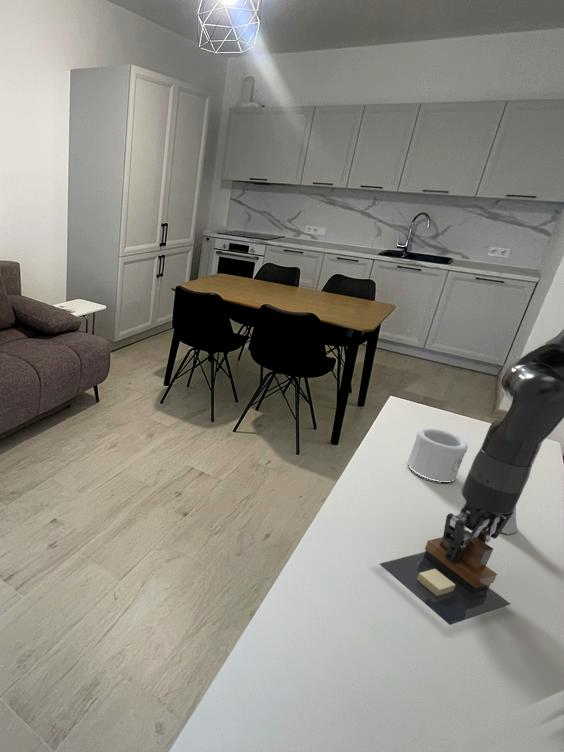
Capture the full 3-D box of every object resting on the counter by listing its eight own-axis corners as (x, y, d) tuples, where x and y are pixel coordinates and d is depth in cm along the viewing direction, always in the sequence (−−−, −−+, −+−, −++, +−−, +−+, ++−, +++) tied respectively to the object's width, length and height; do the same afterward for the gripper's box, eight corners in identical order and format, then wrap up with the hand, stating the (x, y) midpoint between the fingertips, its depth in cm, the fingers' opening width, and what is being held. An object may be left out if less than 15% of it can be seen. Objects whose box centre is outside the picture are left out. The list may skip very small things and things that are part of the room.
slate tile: (435, 552, 97) (436, 548, 96) (509, 608, 85) (511, 603, 84) (377, 567, 92) (379, 563, 91) (447, 629, 79) (449, 624, 79)
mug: (444, 489, 119) (458, 452, 115) (398, 467, 127) (410, 433, 123) (466, 473, 126) (480, 439, 123) (422, 454, 134) (434, 421, 131)
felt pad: (432, 574, 89) (435, 568, 89) (453, 591, 86) (456, 584, 85) (416, 579, 88) (419, 572, 88) (436, 596, 85) (439, 589, 84)
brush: (438, 551, 96) (452, 517, 93) (490, 589, 87) (507, 553, 84) (422, 555, 94) (435, 520, 91) (472, 594, 86) (489, 558, 83)
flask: (471, 521, 107) (488, 482, 104) (481, 509, 112) (497, 471, 108) (511, 539, 102) (530, 499, 99) (520, 526, 107) (538, 487, 103)
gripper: (489, 497, 77) (452, 581, 84) (547, 485, 82) (508, 565, 89) (445, 471, 84) (414, 551, 90) (501, 461, 89) (468, 538, 95)
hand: (461, 558), depth 89 cm, fingers closed on brush, 4 cm apart
